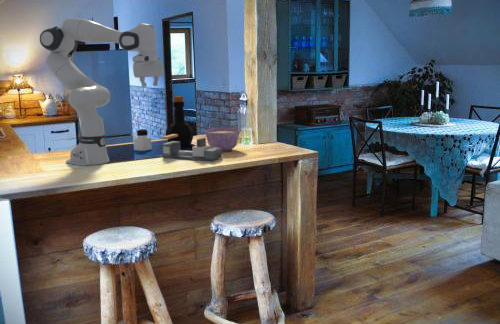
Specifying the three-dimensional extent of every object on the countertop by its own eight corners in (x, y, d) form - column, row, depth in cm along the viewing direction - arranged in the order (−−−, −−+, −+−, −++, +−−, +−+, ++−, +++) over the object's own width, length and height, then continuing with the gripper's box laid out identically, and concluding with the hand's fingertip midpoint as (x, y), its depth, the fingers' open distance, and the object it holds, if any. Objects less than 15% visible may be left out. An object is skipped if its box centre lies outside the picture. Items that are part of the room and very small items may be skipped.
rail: (162, 157, 264) (161, 144, 263) (173, 154, 274) (172, 141, 272) (212, 161, 253) (211, 147, 251) (221, 157, 262) (220, 144, 260)
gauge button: (162, 139, 262) (162, 136, 262) (173, 136, 272) (173, 133, 271) (167, 139, 261) (167, 137, 260) (178, 136, 271) (178, 134, 270)
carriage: (192, 156, 259) (192, 139, 257) (199, 153, 265) (198, 137, 263) (204, 157, 256) (203, 139, 254) (210, 154, 262) (210, 137, 260)
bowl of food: (247, 150, 281) (246, 130, 278) (216, 155, 270) (216, 134, 267) (228, 146, 297) (228, 127, 294) (199, 150, 286) (198, 130, 284)
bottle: (182, 148, 290) (180, 97, 284) (161, 146, 299) (158, 96, 293) (199, 144, 303) (197, 95, 297) (178, 142, 312) (176, 95, 306)
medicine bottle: (151, 149, 291) (150, 129, 288) (143, 151, 285) (142, 130, 282) (143, 148, 294) (141, 128, 292) (134, 150, 289) (133, 129, 286)
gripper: (155, 57, 251) (156, 85, 254) (130, 57, 233) (132, 87, 236) (165, 57, 249) (167, 85, 252) (141, 57, 230) (142, 87, 233)
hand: (149, 86), depth 244 cm, fingers open, 8 cm apart
